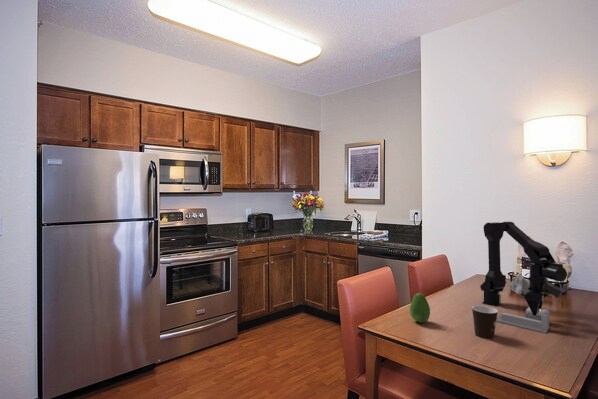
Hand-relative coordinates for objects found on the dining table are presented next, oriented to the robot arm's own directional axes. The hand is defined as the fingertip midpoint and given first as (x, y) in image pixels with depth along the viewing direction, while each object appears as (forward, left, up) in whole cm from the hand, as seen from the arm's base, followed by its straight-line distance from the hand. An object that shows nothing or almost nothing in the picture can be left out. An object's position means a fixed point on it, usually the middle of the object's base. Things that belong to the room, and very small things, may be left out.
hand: (537, 312), depth 146 cm
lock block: (0, 0, -4) cm, 4 cm away
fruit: (-35, -35, -4) cm, 50 cm away
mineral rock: (-16, +45, -4) cm, 48 cm away
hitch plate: (-4, -8, -4) cm, 10 cm away
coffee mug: (-11, -29, -4) cm, 31 cm away
